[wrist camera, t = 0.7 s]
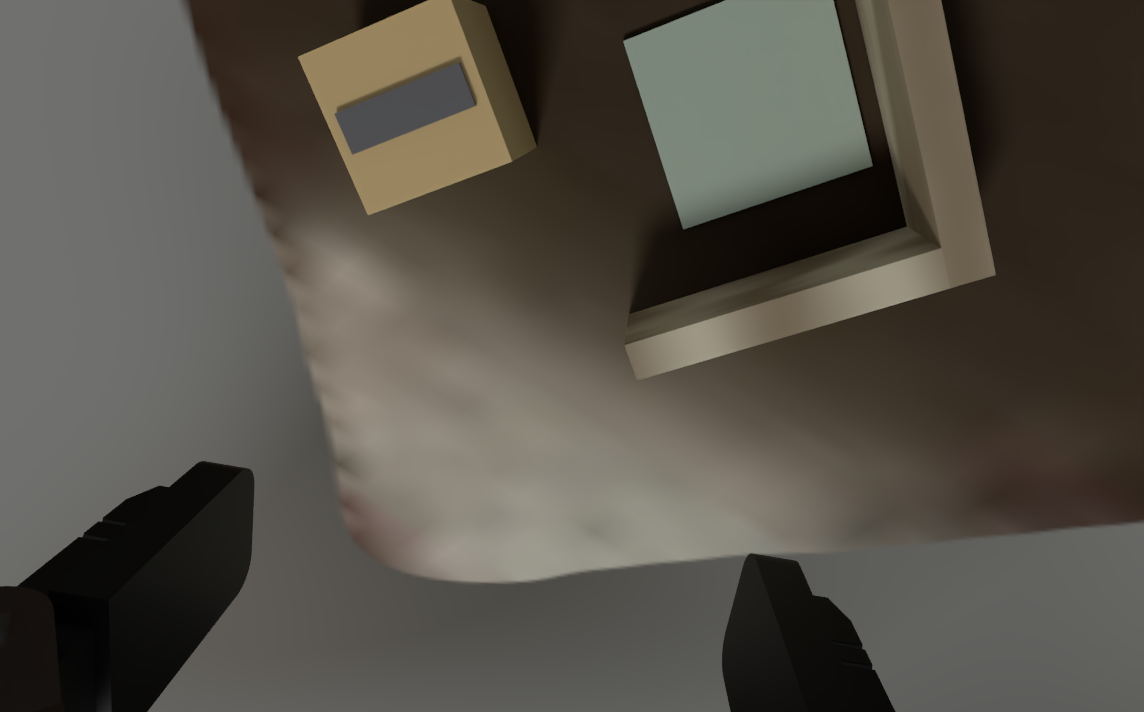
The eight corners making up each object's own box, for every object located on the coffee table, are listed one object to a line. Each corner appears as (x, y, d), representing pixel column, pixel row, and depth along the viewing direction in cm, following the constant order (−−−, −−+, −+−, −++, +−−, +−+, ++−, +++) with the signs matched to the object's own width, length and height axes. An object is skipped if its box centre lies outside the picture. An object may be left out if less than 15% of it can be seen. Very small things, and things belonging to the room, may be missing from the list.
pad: (823, -39, 27) (823, -39, 27) (871, 165, 29) (872, 166, 29) (623, 41, 29) (623, 41, 29) (683, 228, 31) (683, 229, 31)
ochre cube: (486, 6, 29) (446, -10, 24) (537, 146, 31) (511, 162, 25) (359, 59, 30) (295, 57, 25) (415, 192, 32) (365, 216, 27)
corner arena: (852, -232, 25) (884, -285, 21) (954, 250, 30) (995, 274, 26) (493, -70, 28) (467, -93, 24) (640, 346, 33) (637, 380, 29)
